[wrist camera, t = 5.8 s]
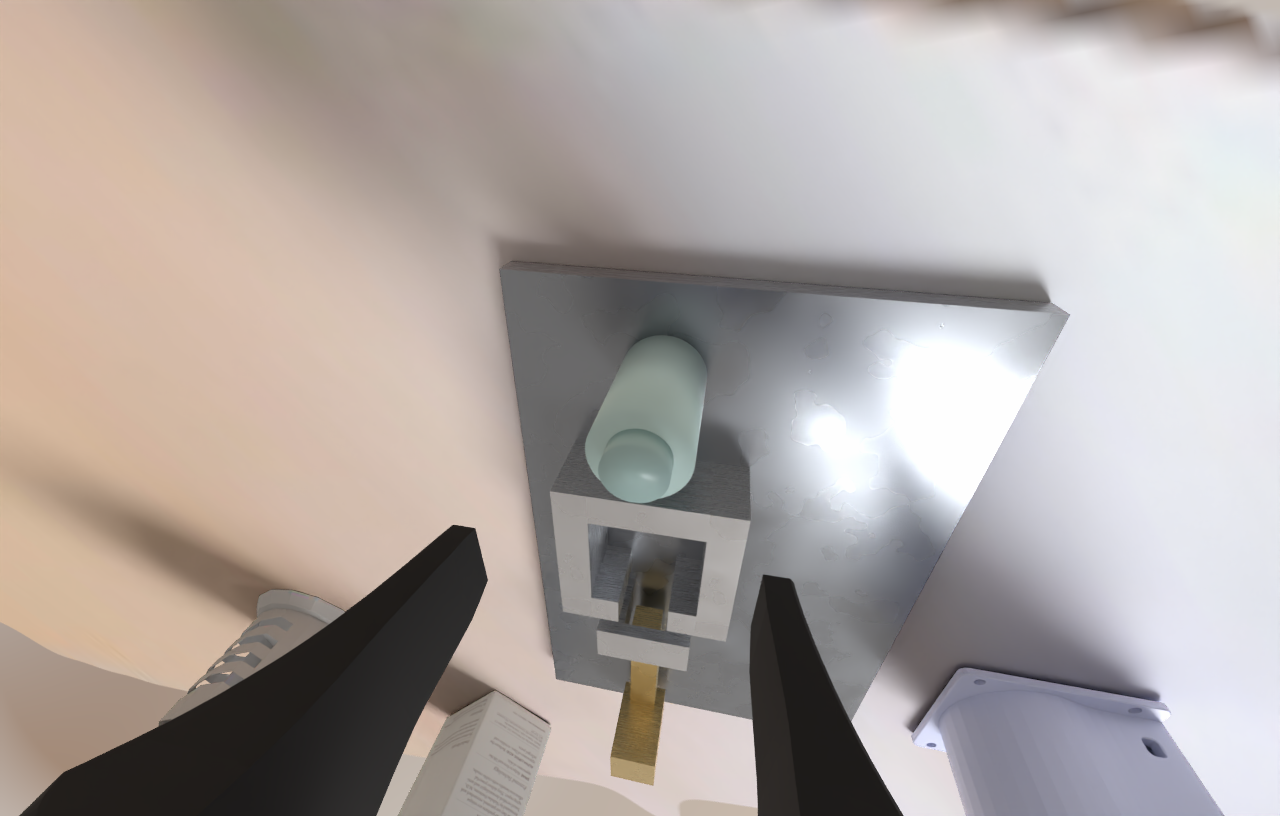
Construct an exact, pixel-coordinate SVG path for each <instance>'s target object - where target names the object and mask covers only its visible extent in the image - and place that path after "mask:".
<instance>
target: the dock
mask: <svg viewBox="0 0 1280 816" xmlns="http://www.w3.org/2000/svg"><path fill="white" fill-rule="evenodd" d="M499 270H500V277H501V285H502V292H503V299H504V306H505V313H506V321H507V328H508V335H509V342H510V349H511V357H512V364H513V371H514V378H515V385H516V393H517V400H518V407H519V414H520V421H521V429H522V436H523V443H524V450H525V457H526V465H527V472H528V479H529V486H530V493H531V501H532V508H533V515H534V522H535V529H536V537H537V544H538V551H539V558H540V565H541V573H542V580H543V587H544V594H545V601H546V609H547V616H548V623H549V630H550V637H551V645H552V652H553V659H554V666H555V673H556V679H558V680H563V681H568V682H573V683H578V684H582V685H587V686H592V687H597V688H602V689H607V690H611V691H616V692H621V693H624V689H625V684H626V681H627V682H631V661H636V662H641V663H646V664H651V665H656V666H659V672H658V684H657V688H661V689H666V690H665V700H664V701H665V702H670V703H674V704H679V705H684V706H689V707H694V708H699V709H703V710H708V711H713V712H718V713H723V714H728V715H732V716H737V717H742V718H747V719H752V720H753V718H752V704H751V689H750V674H749V666H750V630H751V623H752V619H753V614H754V610H755V606H756V602H757V598H758V594H759V589H760V585H761V581H762V577H763V574H765V575H771V576H777V577H783V578H790V579H791V580H792V581H793V582H794V585H795V588H796V592H797V595H798V598H799V601H800V604H801V607H802V610H803V613H804V616H805V618H806V621H807V624H808V626H809V629H810V632H811V634H812V637H813V639H814V642H815V644H816V647H817V649H818V651H819V654H820V656H821V658H822V661H823V663H824V665H825V668H826V670H827V672H828V674H829V677H830V679H831V681H832V683H833V686H834V688H835V690H836V692H837V694H838V696H839V698H840V700H841V703H842V705H843V707H844V709H845V711H846V713H847V715H848V717H849V719H850V721H852V719H853V717H854V715H855V713H856V711H857V709H858V708H859V706H860V704H861V702H862V700H863V698H864V696H865V695H866V693H867V691H868V689H869V687H870V685H871V683H872V682H873V680H874V678H875V676H876V674H877V672H878V670H879V669H880V667H881V665H882V663H883V661H884V659H885V657H886V656H887V654H888V652H889V650H890V648H891V646H892V644H893V643H894V641H895V639H896V637H897V635H898V633H899V631H900V630H901V628H902V626H903V624H904V622H905V620H906V618H907V617H908V615H909V613H910V611H911V609H912V607H913V605H914V604H915V602H916V600H917V598H918V596H919V594H920V592H921V591H922V589H923V587H924V585H925V583H926V581H927V579H928V578H929V576H930V574H931V572H932V570H933V568H934V566H935V565H936V563H937V561H938V559H939V557H940V555H941V553H942V552H943V550H944V548H945V546H946V544H947V542H948V540H949V539H950V537H951V535H952V533H953V531H954V529H955V527H956V526H957V524H958V522H959V520H960V518H961V516H962V514H963V513H964V511H965V509H966V507H967V505H968V503H969V501H970V500H971V498H972V496H973V494H974V492H975V490H976V488H977V487H978V485H979V483H980V481H981V479H982V477H983V475H984V474H985V472H986V470H987V468H988V466H989V464H990V462H991V461H992V459H993V457H994V455H995V453H996V451H997V449H998V448H999V446H1000V444H1001V442H1002V440H1003V438H1004V436H1005V435H1006V433H1007V431H1008V429H1009V427H1010V425H1011V423H1012V422H1013V420H1014V418H1015V416H1016V414H1017V412H1018V410H1019V409H1020V407H1021V405H1022V403H1023V401H1024V399H1025V397H1026V396H1027V394H1028V392H1029V390H1030V388H1031V386H1032V384H1033V383H1034V381H1035V379H1036V377H1037V375H1038V373H1039V371H1040V370H1041V368H1042V366H1043V364H1044V362H1045V360H1046V358H1047V357H1048V355H1049V353H1050V351H1051V349H1052V347H1053V345H1054V344H1055V342H1056V340H1057V338H1058V336H1059V334H1060V332H1061V331H1062V329H1063V327H1064V325H1065V323H1066V321H1067V319H1068V318H1069V316H1070V314H1068V313H1067V312H1065V311H1064V310H1062V309H1061V308H1059V307H1058V306H1056V305H1054V304H1053V303H1046V302H1033V301H1020V300H1007V299H994V298H981V297H968V296H955V295H942V294H929V293H916V292H903V291H890V290H877V289H864V288H852V287H839V286H826V285H813V284H800V283H787V282H774V281H761V280H748V279H735V278H722V277H709V276H696V275H683V274H670V273H657V272H644V271H631V270H618V269H605V268H592V267H579V266H567V265H554V264H541V263H528V262H515V261H511V262H509V263H508V264H506V265H505V266H503V267H502V268H500V269H499ZM656 335H667V336H673V337H676V338H679V339H682V340H684V341H685V342H687V343H689V344H690V345H691V346H693V347H694V348H695V349H696V350H697V351H698V352H699V354H700V355H701V357H702V358H703V360H704V363H705V365H706V369H707V383H706V391H705V398H704V405H703V412H702V419H701V427H700V434H699V441H698V448H697V455H696V463H695V468H694V472H693V475H692V477H691V479H690V480H689V482H688V483H687V484H686V485H685V486H684V487H683V488H682V489H681V490H679V491H678V492H676V493H674V494H672V495H670V496H667V497H664V498H660V499H657V500H654V501H651V502H647V503H633V502H628V501H624V500H622V499H620V498H618V497H616V496H614V495H613V494H611V493H610V492H609V491H608V490H607V489H606V488H605V487H604V486H603V484H602V482H601V481H600V480H599V479H598V478H597V477H596V476H595V474H594V473H593V472H592V470H591V468H590V466H589V464H588V462H587V459H586V454H585V443H586V438H587V436H588V433H589V431H590V429H591V427H592V425H593V423H594V421H595V419H596V416H597V414H598V412H599V410H600V408H601V406H602V404H603V402H604V400H605V398H606V395H607V393H608V391H609V389H610V387H611V385H612V383H613V381H614V379H615V377H616V374H617V372H618V370H619V368H620V366H621V364H622V362H623V360H624V358H625V356H626V354H627V352H628V351H629V349H630V348H631V347H632V346H633V345H634V344H636V343H637V342H639V341H640V340H642V339H644V338H647V337H651V336H656ZM636 605H639V606H645V607H651V608H656V609H662V610H663V620H662V630H657V629H651V628H646V627H641V626H635V625H632V623H633V618H634V614H635V609H636Z"/></svg>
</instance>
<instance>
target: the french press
mask: <svg viewBox="0 0 1280 816" xmlns="http://www.w3.org/2000/svg"><path fill="white" fill-rule="evenodd" d="M343 613H345V612H344V611H343V610H341V609H339V608H337V607H335V606H334V605H332V604H330V603H328V602H326V601H324V600H322V599H320V598H318V597H314V596H311V595H308V594H304V593H301V592H297V591H294V590H270V591H268V592H266V593H264V594H262V595H259V599H258V603H257V619H256V620H255V621H254V622H253V623H252V624H251V625H250V626H249V627H248V628H247V629H246V630H245V631H244V632H243V633H242V635H241V637H240V638H239V639H238V640H236V641H235V642H234V643H233V644H232V645H231V646H230V647H229V648H228V649H227V650H226V652H225V654H224V655H223V656H222V657H221V658H219V659H218V660H217V661H216V662H215V663H214V664H213V665H212V666H211V667H210V668H209V669H208V671H207V673H206V674H205V675H204V676H203V677H201V678H200V679H199V680H198V681H197V682H196V683H195V684H194V685H193V686H192V687H191V688H190V689H189V691H188V693H187V695H186V696H184V697H183V698H181V699H180V700H179V701H178V702H177V703H176V704H175V705H174V706H173V707H172V708H171V710H169V711H168V713H167V714H166V715H165V716H164V717H163V718H162V719H161V720H160V721H159V726H161V725H163V724H165V723H166V722H168V721H170V720H172V719H174V718H176V717H178V716H180V715H182V714H184V713H186V712H187V711H189V710H191V709H193V708H195V707H197V706H198V705H200V704H202V703H204V702H206V701H208V700H209V699H211V698H213V697H215V696H217V695H218V694H220V693H222V692H224V691H225V690H227V689H229V688H230V687H232V686H234V685H235V684H237V683H239V682H240V681H242V680H244V679H245V678H247V677H249V676H250V675H252V674H254V673H255V672H257V671H259V670H260V669H262V668H264V667H265V666H267V665H269V664H270V663H272V662H273V661H275V660H277V659H278V658H280V657H281V656H283V655H285V654H286V653H288V652H289V651H291V650H292V649H294V648H295V647H297V646H298V645H300V644H301V643H303V642H304V641H306V640H307V639H309V638H310V637H311V636H313V635H314V634H316V633H317V632H319V631H320V630H321V629H323V628H324V627H326V626H327V625H329V624H330V623H331V622H333V621H334V620H335V619H337V618H338V617H339V616H341V615H342V614H343ZM238 643H239V644H240V646H238V647H236V648H234V649H232V647H233V646H235V645H236V644H238ZM231 649H232V650H231ZM246 652H250V653H249V654H248V655H247V656H246V657H240V656H236V655H235V654H240V653H246ZM221 661H223V662H225V663H224V664H222V665H220V666H218V667H216V668H215V669H214V667H215V665H216V664H218V663H219V662H221ZM230 671H233V672H232V673H231V674H230V675H228V674H220V673H225V672H230ZM203 680H207V681H208V682H210V683H211V684H205V685H200V686H199V687H198V688H196V686H197V684H199V683H200V682H202V681H203Z"/></svg>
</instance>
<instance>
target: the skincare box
mask: <svg viewBox="0 0 1280 816" xmlns="http://www.w3.org/2000/svg"><path fill="white" fill-rule="evenodd" d="M550 731H551V727H550V725H549V724H547V723H546V722H545V721H543V720H542V719H540V718H539V717H537V716H535V715H534V714H532V713H530V712H529V711H528V710H526V709H524V708H523V707H521V706H520V705H518V704H517V703H515V702H514V701H512V700H511V699H509V698H508V697H506V696H504V695H502V694H501V693H499V692H498V691H493V692H491V693H489V694H487V695H486V696H484V697H482V698H481V699H479V700H477V701H475V702H474V703H472V704H470V705H468V706H467V707H465V708H463V709H461V710H460V711H458V712H457V713H455V714H453V715H451V716H449V717H447V719H446V720H445V722H444V724H443V726H442V729H441V731H440V733H439V735H438V736H437V738H436V740H435V742H434V744H433V746H432V748H431V750H430V752H429V754H428V756H427V758H426V760H425V763H424V765H423V766H422V769H421V770H420V772H419V774H418V777H417V778H416V780H415V782H414V784H413V786H412V788H411V790H410V792H409V794H408V796H407V798H406V800H405V802H404V804H403V806H402V808H401V810H400V812H399V814H398V816H523V815H524V812H525V809H526V806H527V803H528V800H529V797H530V794H531V791H532V788H533V785H534V782H535V778H536V775H537V772H538V769H539V766H540V763H541V760H542V757H543V754H544V750H545V747H546V744H547V741H548V738H549V735H550Z"/></svg>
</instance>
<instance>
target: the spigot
mask: <svg viewBox="0 0 1280 816" xmlns="http://www.w3.org/2000/svg"><path fill="white" fill-rule="evenodd" d="M706 383H707V369H706V365H705V363H704V360H703V358H702V357H701V355H700V354H699V352H698V351H697V350H696V349H695V348H694V347H693V346H691V345H690V344H689V343H687V342H685V341H684V340H682V339H679V338H676V337H673V336H667V335H656V336H651V337H647V338H644V339H642V340H640V341H639V342H637V343H636V344H634V345H633V346H632V347H631V348H630V349H629V351H628V352H627V354H626V356H625V358H624V360H623V362H622V364H621V366H620V368H619V370H618V372H617V374H616V377H615V379H614V381H613V383H612V385H611V387H610V389H609V391H608V393H607V395H606V398H605V400H604V402H603V404H602V406H601V408H600V410H599V412H598V414H597V416H596V419H595V421H594V423H593V425H592V427H591V429H590V431H589V433H588V436H587V438H586V443H585V454H586V459H587V462H588V464H589V466H590V468H591V470H592V472H593V473H594V474H595V476H596V477H597V478H598V479H599V480H600V481H601V482H602V484H603V486H604V487H605V488H606V489H607V490H608V491H609V492H610V493H611V494H613V495H614V496H616V497H618V498H620V499H622V500H624V501H628V502H633V503H647V502H651V501H654V500H657V499H660V498H664V497H667V496H670V495H672V494H674V493H676V492H678V491H679V490H681V489H682V488H683V487H684V486H685V485H686V484H687V483H688V482H689V480H690V479H691V477H692V475H693V472H694V468H695V463H696V455H697V448H698V441H699V434H700V427H701V419H702V412H703V405H704V398H705V391H706Z"/></svg>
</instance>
